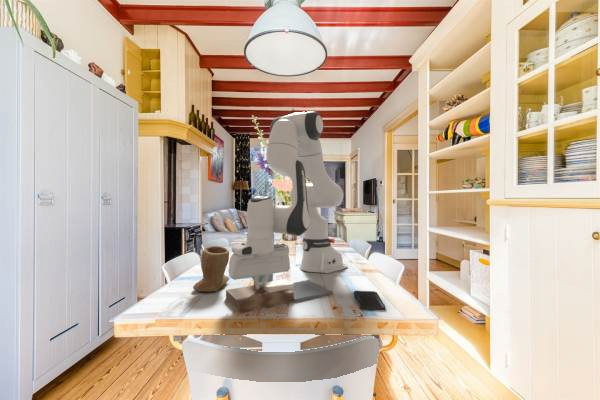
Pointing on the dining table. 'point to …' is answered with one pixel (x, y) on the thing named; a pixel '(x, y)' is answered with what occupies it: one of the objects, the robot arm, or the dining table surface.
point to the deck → (256, 298)
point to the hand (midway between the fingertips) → (260, 288)
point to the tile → (278, 285)
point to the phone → (369, 300)
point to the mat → (308, 290)
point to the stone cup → (213, 269)
